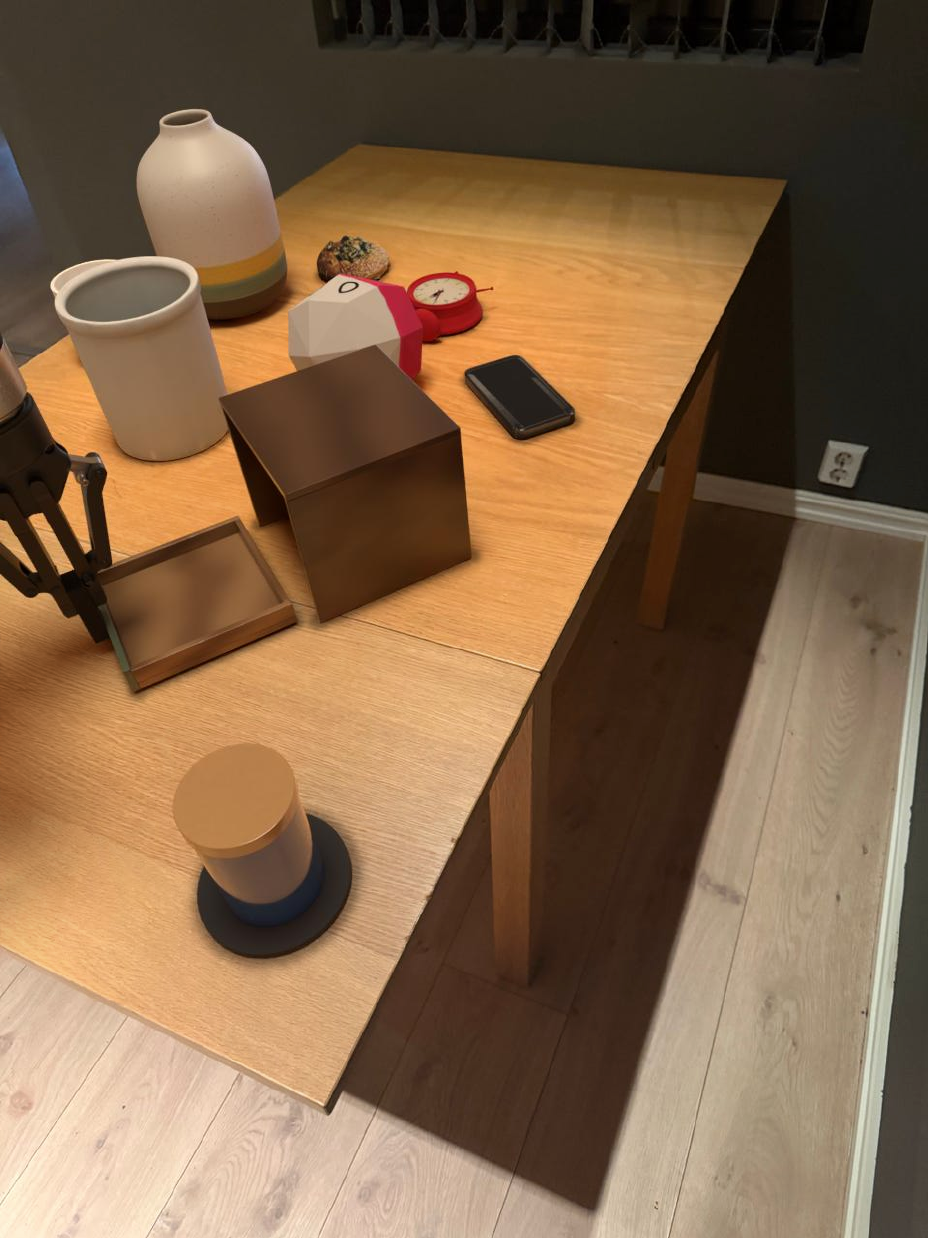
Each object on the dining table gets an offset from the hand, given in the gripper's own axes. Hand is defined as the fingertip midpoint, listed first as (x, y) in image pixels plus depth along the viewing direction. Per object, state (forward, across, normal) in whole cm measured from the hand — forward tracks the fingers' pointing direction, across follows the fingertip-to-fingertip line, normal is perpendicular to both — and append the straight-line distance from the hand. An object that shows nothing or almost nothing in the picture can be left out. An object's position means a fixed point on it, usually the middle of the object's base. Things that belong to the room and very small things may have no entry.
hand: (100, 631), depth 80 cm
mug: (+2, -15, -53) cm, 55 cm away
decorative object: (+2, -38, -24) cm, 45 cm away
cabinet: (+2, -26, 0) cm, 26 cm away
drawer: (+2, -9, 0) cm, 9 cm away
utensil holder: (+2, -16, -31) cm, 34 cm away
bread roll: (+2, -50, -56) cm, 75 cm away
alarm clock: (+2, -52, -34) cm, 63 cm away
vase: (+2, -32, -57) cm, 65 cm away
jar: (+1, -5, +31) cm, 31 cm away
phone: (+2, -52, -12) cm, 53 cm away
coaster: (+2, -5, +31) cm, 31 cm away
